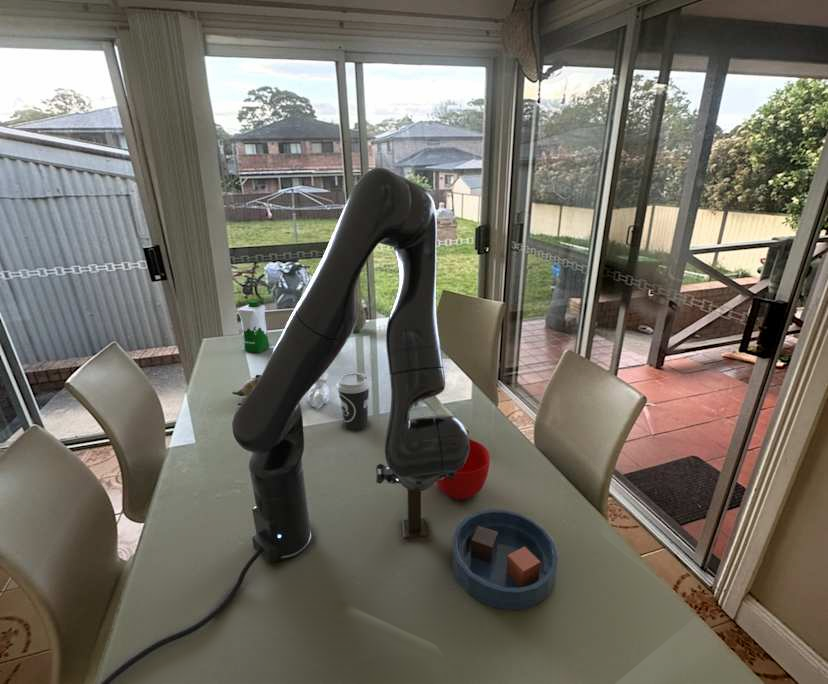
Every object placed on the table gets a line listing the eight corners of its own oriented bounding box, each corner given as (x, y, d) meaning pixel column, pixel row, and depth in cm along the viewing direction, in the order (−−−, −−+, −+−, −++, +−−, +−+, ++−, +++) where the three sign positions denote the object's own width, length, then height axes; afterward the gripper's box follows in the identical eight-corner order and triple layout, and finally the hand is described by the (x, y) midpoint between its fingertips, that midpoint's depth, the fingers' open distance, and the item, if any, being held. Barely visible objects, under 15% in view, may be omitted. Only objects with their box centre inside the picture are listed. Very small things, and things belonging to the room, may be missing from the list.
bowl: (524, 636, 69) (527, 613, 68) (432, 572, 81) (432, 551, 79) (570, 561, 83) (574, 540, 81) (485, 515, 94) (486, 496, 92)
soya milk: (272, 346, 185) (266, 300, 178) (259, 354, 177) (252, 306, 170) (254, 343, 188) (247, 298, 180) (241, 351, 180) (233, 304, 172)
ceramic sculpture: (283, 375, 139) (233, 389, 132) (287, 398, 142) (239, 413, 135) (274, 363, 147) (227, 376, 141) (279, 386, 151) (233, 399, 144)
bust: (326, 416, 136) (345, 386, 136) (305, 408, 132) (325, 376, 132) (315, 400, 146) (333, 371, 146) (296, 391, 142) (314, 362, 142)
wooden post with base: (426, 539, 88) (426, 473, 82) (404, 541, 87) (402, 475, 82) (424, 522, 92) (424, 459, 86) (402, 524, 92) (401, 460, 86)
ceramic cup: (439, 459, 112) (439, 426, 108) (498, 487, 102) (500, 451, 98) (406, 486, 103) (405, 450, 99) (467, 520, 93) (469, 481, 89)
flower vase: (446, 465, 122) (388, 391, 146) (482, 443, 125) (420, 374, 150) (440, 439, 114) (381, 366, 139) (479, 416, 118) (414, 348, 142)
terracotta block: (521, 588, 76) (523, 571, 75) (506, 571, 80) (507, 555, 78) (538, 578, 78) (540, 561, 77) (522, 562, 82) (524, 546, 80)
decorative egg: (358, 325, 210) (356, 294, 204) (371, 331, 202) (369, 299, 197) (338, 330, 203) (336, 299, 198) (351, 336, 196) (349, 304, 190)
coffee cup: (366, 436, 122) (364, 388, 117) (334, 432, 124) (330, 384, 118) (376, 418, 131) (374, 372, 125) (345, 415, 133) (342, 370, 127)
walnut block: (491, 563, 81) (492, 547, 80) (470, 556, 83) (471, 540, 81) (497, 548, 85) (498, 532, 83) (477, 541, 86) (478, 525, 85)
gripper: (460, 438, 72) (448, 455, 87) (373, 443, 71) (376, 459, 86) (465, 486, 69) (452, 494, 84) (374, 491, 68) (377, 499, 83)
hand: (413, 476), depth 85 cm, fingers open, 8 cm apart
